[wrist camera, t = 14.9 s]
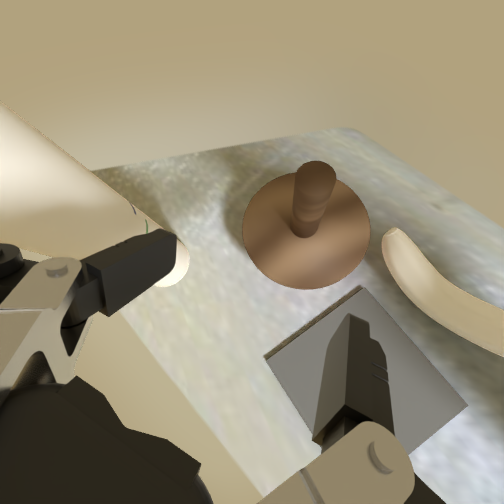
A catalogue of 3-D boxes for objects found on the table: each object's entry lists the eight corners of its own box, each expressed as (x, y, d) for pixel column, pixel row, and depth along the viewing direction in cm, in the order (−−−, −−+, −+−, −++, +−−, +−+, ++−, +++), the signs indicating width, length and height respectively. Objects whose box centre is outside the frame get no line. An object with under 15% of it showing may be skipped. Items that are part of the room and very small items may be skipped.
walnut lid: (395, 240, 25) (465, 190, 15) (291, 316, 24) (298, 313, 14) (312, 157, 29) (328, 78, 20) (221, 219, 28) (191, 167, 19)
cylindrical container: (175, 229, 34) (-65, 24, 10) (198, 267, 32) (-38, 115, 8) (134, 257, 34) (-213, 105, 10) (155, 297, 32) (-226, 226, 8)
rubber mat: (464, 403, 24) (468, 405, 24) (352, 495, 23) (354, 499, 23) (363, 287, 29) (364, 287, 28) (265, 360, 28) (265, 361, 27)
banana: (375, 239, 30) (455, 169, 16) (530, 343, 25) (844, 373, 11) (353, 266, 30) (416, 218, 16) (507, 380, 24) (810, 460, 10)
